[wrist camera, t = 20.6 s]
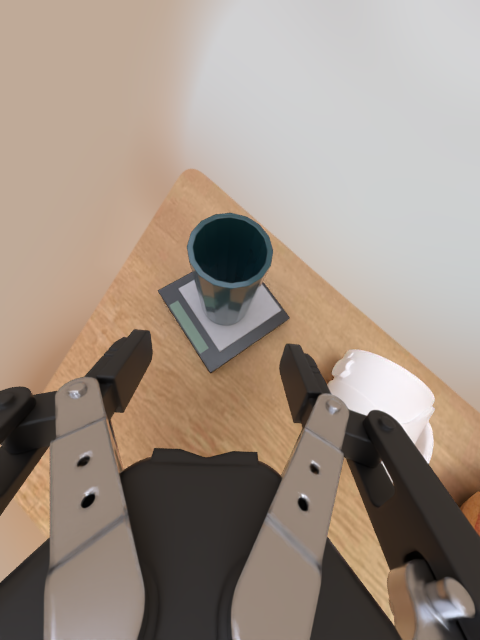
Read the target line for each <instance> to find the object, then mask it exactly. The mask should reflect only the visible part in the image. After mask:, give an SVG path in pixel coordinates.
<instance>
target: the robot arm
mask: <svg viewBox="0 0 480 640" xmlns="http://www.w3.org/2000/svg"><path fill="white" fill-rule="evenodd" d="M152 354H153V351H152V343H151V334H150V331H148V330H137V329H134V330H133V331H132V332H131V334H130V335H129V336H128V337H127V338H126V337H123V338H121V339H119V340H118V341H116V342H114V344H113V345H112V346H111V347H110V348H109V350H107V352H106V353H105V354H104V356H102V357H101V358H100V359H99V361H98V362H97V363H96V364H95V365H94V366H93V367H92V369H91V370H90V371H89V372H88V373H87V374H86V375H85V377H81V378H77V379H74V380H72V381H69V382H68V383H66V384H64V385H63V386H62V387H61V388H60V389H59V390H58V391H54V392H48V393H42V394H36V395H33V394H32V393H31V391H30V390H29V389H28V388H26V387H12V388H8V389H5V390H2V391H0V444H1V445H2V446H1V447H0V515H1V514H2V513H3V511H4V510H5V508H6V507H7V505H8V504H9V502H10V501H11V500H12V498H13V497H14V496H15V494H16V493H17V491H18V490H19V489H20V487H21V486H22V484H23V483H24V481H25V480H26V479H27V477H28V476H29V474H30V473H31V472H32V470H33V469H34V467H35V466H36V464H37V463H38V462H39V460H40V459H41V457H42V456H43V455H44V453H45V452H46V450H47V449H48V448H49V446H50V538H48V539H47V540H46V541H45V542H44V543H43V544H42V545H41V546H40V547H39V548H38V549H36V550H35V551H34V552H33V553H32V554H31V555H30V556H29V557H28V558H27V559H26V560H24V561H23V562H22V563H21V564H20V565H19V566H18V567H17V568H16V569H15V570H14V571H12V572H11V573H10V574H9V575H8V576H7V577H6V578H5V579H4V580H3V581H2V582H1V583H0V640H480V536H479V535H478V533H477V532H476V531H475V529H474V528H473V526H472V525H471V524H470V522H469V521H468V519H467V518H466V517H465V515H464V514H463V512H462V511H461V509H460V508H459V507H458V505H457V504H456V502H455V501H454V500H453V498H452V497H451V495H450V494H449V492H448V491H447V490H446V488H445V487H444V485H443V484H442V483H441V481H440V480H439V478H438V477H437V476H436V474H435V473H434V471H433V470H432V468H431V467H430V466H429V464H428V463H427V461H426V460H425V459H424V457H423V456H422V454H421V453H420V451H419V450H418V449H417V447H416V446H415V444H414V443H413V442H412V440H411V439H410V437H409V436H408V435H407V433H406V432H405V430H404V429H403V427H402V426H401V425H400V423H399V422H398V421H397V420H396V419H394V418H393V417H392V416H390V415H389V414H387V413H385V412H383V411H380V410H372V411H370V412H369V413H368V415H367V416H366V415H364V414H361V413H358V412H355V411H352V410H349V409H348V407H347V406H346V404H345V403H344V402H343V401H342V400H341V399H339V398H338V397H336V396H334V395H332V394H331V392H330V390H329V388H328V386H327V384H326V382H325V380H324V378H323V376H322V374H320V371H319V369H318V368H317V365H316V363H315V361H314V360H313V359H312V358H311V357H310V356H309V355H308V354H305V353H304V352H303V350H302V348H301V346H300V345H297V344H286V345H285V348H284V352H283V355H282V358H281V361H280V367H279V370H280V375H281V379H282V382H283V386H284V390H285V393H286V397H287V400H288V404H289V408H290V411H291V415H292V419H293V422H294V423H301V424H302V427H303V429H302V431H301V433H300V435H299V437H298V439H297V442H296V444H295V446H294V448H293V450H292V453H291V455H290V457H289V459H288V461H287V464H286V466H285V468H284V470H283V472H282V474H281V475H280V474H279V473H278V472H276V471H275V470H274V469H273V468H271V467H270V466H268V465H267V464H265V463H263V462H260V461H258V454H257V452H239V451H232V452H228V453H224V454H220V455H216V456H212V457H207V458H206V457H202V456H199V455H196V454H193V453H190V452H187V451H184V450H182V449H164V448H154V451H153V454H152V457H149V458H146V459H143V460H140V461H138V462H136V463H134V464H133V465H131V466H129V467H128V468H126V469H125V470H124V468H123V465H122V461H121V458H120V454H119V450H118V446H117V442H116V439H115V435H114V431H113V427H112V423H111V417H112V416H113V414H114V412H120V413H124V411H125V409H126V407H127V405H128V403H129V402H130V400H131V398H132V396H133V394H134V392H135V390H136V389H137V387H138V385H139V383H140V381H141V379H142V377H143V375H144V374H145V372H146V370H147V368H148V366H149V364H150V362H151V360H152ZM344 457H345V458H346V459H347V462H348V465H349V467H350V470H351V472H352V475H353V477H354V480H355V482H356V485H357V487H358V490H359V492H360V495H361V498H362V500H363V503H364V505H365V508H366V510H367V513H368V515H369V518H370V520H371V523H372V525H373V528H374V531H375V533H376V536H377V538H378V541H379V543H380V546H381V548H382V551H383V553H384V556H385V558H386V561H387V564H388V566H389V569H390V572H389V574H388V578H387V588H388V594H389V605H390V608H391V611H392V613H393V615H394V622H395V626H394V625H393V624H392V622H391V621H390V619H389V618H388V617H387V615H386V614H385V613H384V611H383V610H382V609H381V607H380V606H379V605H378V603H377V602H376V601H375V599H374V598H373V597H372V595H371V594H370V593H369V591H368V590H367V589H366V587H365V586H364V585H363V583H362V582H361V581H360V579H359V578H358V577H357V575H356V574H355V573H354V571H353V570H352V569H351V567H350V566H349V565H348V563H347V562H346V561H345V559H344V558H343V557H342V555H341V554H340V553H339V551H338V550H337V549H336V547H335V546H334V545H333V544H332V542H331V541H330V540H329V538H328V537H327V534H328V530H329V525H330V520H331V516H332V511H333V506H334V502H335V497H336V492H337V487H338V483H339V478H340V473H341V469H342V464H343V459H344ZM382 462H383V464H384V466H385V468H386V470H387V472H388V473H389V475H390V477H391V479H392V481H393V483H392V481H391V479H390V477H389V476H388V474H387V472H386V470H385V468H384V466H383V464H382ZM393 484H394V485H393Z"/></svg>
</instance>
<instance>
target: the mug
mask: <svg viewBox="0 0 480 640" xmlns="http://www.w3.org/2000/svg"><path fill="white" fill-rule="evenodd" d="M332 375H333V376H334V379H333V380H331V381H329V383H328V385H327V386H328V388H329V390H330V392H331V394H332V395H334V396H336V397H338V398H339V399H341V400H342V401H343V402H344V403H345V404H346V406H347V407H348V409H349V410H352V411H355V412H358V413H361V414H364V415H366V416H367V415H368V413H369V412H370V411H372V410H380V411H383V412H385V413H387V414H389V415H390V416H392V417H393V418H394V419H396V420H397V421H398V422H399V423H400V425H401V426H402V427H403V429H404V430H405V432H406V433H407V435H408V436H409V437H410V439H411V440H412V442H413V443H414V444H415V446H416V447H417V449H418V450H419V451H420V453H421V454H422V456H423V457H424V459H425V460H426V461H427V463H428V464H429V462H430V459H431V456H432V452H433V432H432V428H431V425H430V423H429V422H428V421H429V419H430V417H431V415H432V414H433V412H434V410H435V408H434V407H432V405H433V403H434V401H435V398H434V395H433V393H432V392H431V390H430V389H429V388H428V387H427V386H426V385H425V384H424V383H423V382H422V381H421V380H420V379H419V378H417V377H416V376H415V375H413V374H412V373H410V372H409V371H407V370H406V369H404V368H403V367H401V366H399V365H398V364H396V363H394V362H392V361H390V360H388V359H386V358H384V357H381V356H379V355H376V354H374V353H371V352H367V351H363V350H358V349H351V350H348V351H346V353H345V355H344V357H343V359H340V360H339V361H338V362H337V363H336V364H335V366H334V368H333V371H332ZM382 464H383V462H382ZM383 466H384V464H383ZM384 468H385V466H384ZM385 470H386V468H385ZM386 472H387V470H386ZM387 474H388V476H389V477H390V475H389V473H388V472H387ZM390 479H391V477H390ZM391 481H392V479H391ZM392 483H393V481H392Z"/></svg>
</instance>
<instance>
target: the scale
mask: <svg viewBox="0 0 480 640" xmlns="http://www.w3.org/2000/svg"><path fill="white" fill-rule="evenodd" d="M158 292H159V294H160V295H161V297H162V298H163V300H164V301H165V303H166V305H167V306H168V308H169V309H170V311H171V312H172V314H173V316H174V317H175V319H176V320H177V322H178V323H179V325H180V327H181V328H182V330H183V331H184V333H185V334H186V336H187V338H188V339H189V341H190V342H191V344H192V345H193V347H194V349H195V350H196V352H197V353H198V355H199V356H200V358H201V360H202V361H203V363H204V364H205V366H206V367H207V369H208V371H209V372H210V373H212V372H213V371H215V370H216V369H218V368H219V367H221V366H222V365H223V364H225V363H226V362H228V361H229V360H231V359H232V358H234V357H235V356H236V355H238V354H239V353H241V352H242V351H244V350H245V349H247V348H248V347H249V346H251V345H252V344H254V343H255V342H257V341H258V340H260V339H261V338H262V337H264V336H265V335H267V334H268V333H270V332H271V331H273V330H274V329H275V328H277V327H278V326H280V325H281V324H283V323H284V322H285V321H287V320H288V319H290V317H289V316H288V315H287V313H286V312H285V311H284V309H283V308H282V307H281V305H280V304H279V303H278V301H277V300H276V299H275V297H274V296H273V295H272V293H271V292H270V291H269V289H268V288H267V287H266V285H265V284H264V283H263V282H262V284H261V286H260V288H259V290H258V292H257V294H256V296H255V298H254V300H253V302H252V305H251V307H250V309H249V311H248V312H247V314H246V315H245V317H244V318H243V319H242V320H241V321H239V322H238V323H236V324H233V325H228V326H223V325H218V324H216V323H214V322H212V321H211V320H209V319H208V318H207V317H206V315H205V314H204V312H203V310H202V307H201V303H200V299H199V295H198V292H197V288H196V284H195V281H194V277H193V273H192V272H191V273H189V274H187V275H186V276H184V277H182V278H180V279H178V280H176V281H174V282H173V283H171V284H169V285H167V286H165V287H163V288H161V289H160V290H158Z"/></svg>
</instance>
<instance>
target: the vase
mask: <svg viewBox="0 0 480 640" xmlns="http://www.w3.org/2000/svg"><path fill="white" fill-rule="evenodd" d="M460 509H461V511H462V512H463V514H464V515H465V517H466V518H467V519H468V521H469V522H470V524H471V525H472V526H473V528H474V529H475V531H476V532H477V533H478V535H479V536H480V491H478V492H476V493H475V494H473V495H472V496H471V497H470V498H469V499H468V500H466V501H465V502H464V503H463V504H462V505H461V507H460Z"/></svg>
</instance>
